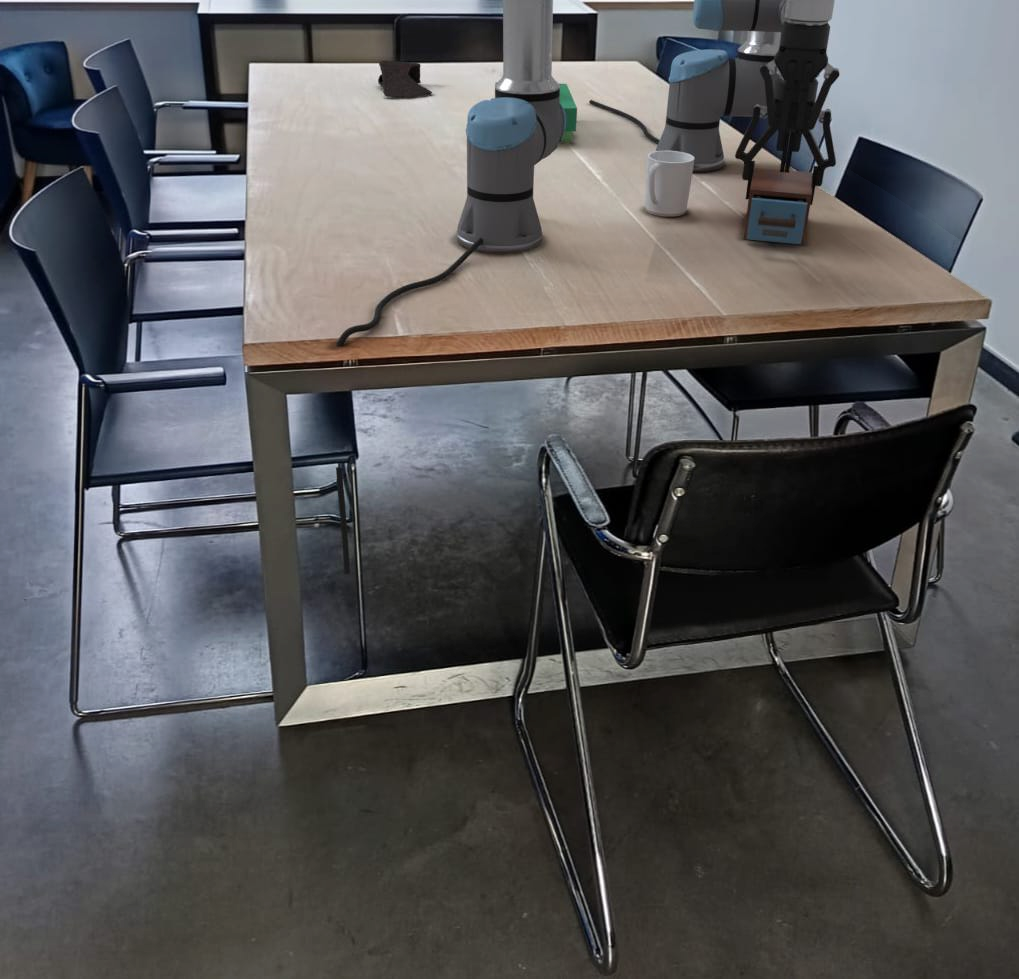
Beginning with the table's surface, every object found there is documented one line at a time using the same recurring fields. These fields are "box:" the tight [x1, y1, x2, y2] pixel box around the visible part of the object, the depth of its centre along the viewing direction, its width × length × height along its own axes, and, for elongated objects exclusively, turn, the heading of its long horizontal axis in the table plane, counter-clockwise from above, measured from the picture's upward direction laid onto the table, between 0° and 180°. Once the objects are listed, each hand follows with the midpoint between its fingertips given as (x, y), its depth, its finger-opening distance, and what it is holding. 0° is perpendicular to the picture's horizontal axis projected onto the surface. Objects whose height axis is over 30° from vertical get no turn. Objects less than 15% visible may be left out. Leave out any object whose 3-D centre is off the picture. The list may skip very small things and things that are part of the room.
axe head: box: [377, 59, 433, 99], centre depth 299 cm, size 18×8×15 cm
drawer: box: [745, 195, 807, 245], centre depth 197 cm, size 19×10×7 cm, turn 166°
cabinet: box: [742, 167, 813, 245], centre depth 202 cm, size 15×11×9 cm
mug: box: [644, 150, 694, 218], centre depth 209 cm, size 11×9×10 cm
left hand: (784, 170), depth 186 cm, fingers closed
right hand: (778, 200), depth 206 cm, fingers closed on cabinet, 11 cm apart
